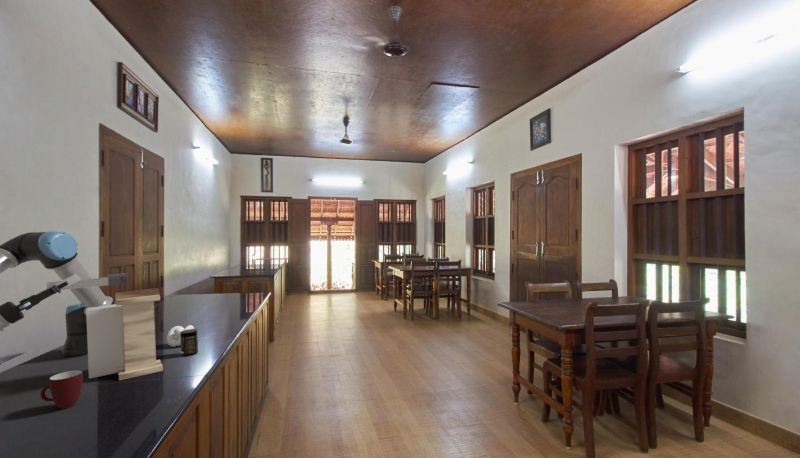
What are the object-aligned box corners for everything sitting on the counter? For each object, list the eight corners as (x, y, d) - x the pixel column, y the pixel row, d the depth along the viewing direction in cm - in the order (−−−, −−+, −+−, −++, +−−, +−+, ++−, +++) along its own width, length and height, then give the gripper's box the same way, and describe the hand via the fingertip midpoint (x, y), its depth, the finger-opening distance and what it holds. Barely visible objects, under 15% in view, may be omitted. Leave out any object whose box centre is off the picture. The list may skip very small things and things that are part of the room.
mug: (35, 416, 115) (34, 383, 115) (45, 406, 122) (43, 375, 122) (80, 407, 120) (78, 376, 120) (86, 398, 127) (85, 368, 127)
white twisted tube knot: (200, 344, 186) (199, 325, 186) (172, 350, 178) (171, 331, 178) (191, 340, 194) (191, 322, 194) (165, 346, 185) (164, 327, 185)
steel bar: (47, 290, 143) (47, 279, 143) (126, 282, 158) (126, 273, 158) (46, 291, 141) (46, 280, 141) (126, 283, 155) (126, 273, 155)
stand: (118, 373, 150) (115, 292, 150) (159, 364, 159) (156, 287, 159) (119, 380, 142) (115, 295, 142) (162, 370, 151) (159, 290, 151)
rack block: (89, 372, 152) (86, 307, 152) (123, 365, 158) (121, 303, 158) (88, 378, 145) (86, 310, 145) (124, 371, 152) (121, 306, 152)
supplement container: (201, 353, 172) (200, 330, 172) (186, 357, 166) (185, 333, 166) (193, 351, 176) (192, 328, 176) (178, 355, 170) (177, 332, 170)
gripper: (15, 320, 142) (85, 282, 155) (7, 328, 129) (83, 286, 142) (0, 304, 140) (72, 267, 152) (-10, 311, 127) (69, 270, 140)
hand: (77, 276), depth 147 cm, fingers closed on steel bar, 3 cm apart
